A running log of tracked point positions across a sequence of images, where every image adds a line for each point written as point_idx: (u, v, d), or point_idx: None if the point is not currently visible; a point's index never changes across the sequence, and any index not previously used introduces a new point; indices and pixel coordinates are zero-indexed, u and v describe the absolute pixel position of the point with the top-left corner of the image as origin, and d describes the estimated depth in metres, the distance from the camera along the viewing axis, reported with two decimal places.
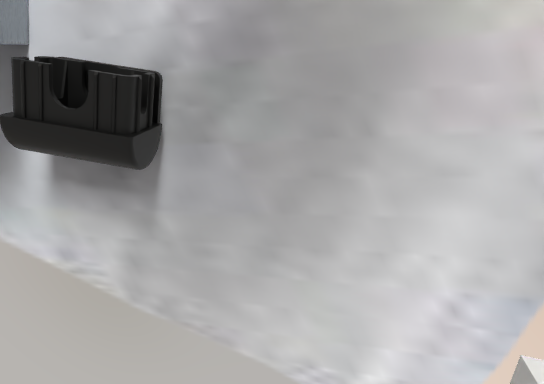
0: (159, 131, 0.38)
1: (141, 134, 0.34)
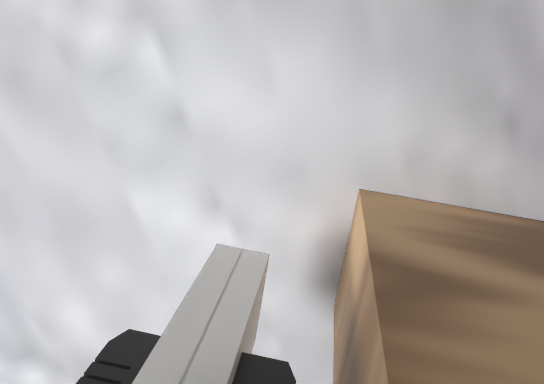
0: None
1: None
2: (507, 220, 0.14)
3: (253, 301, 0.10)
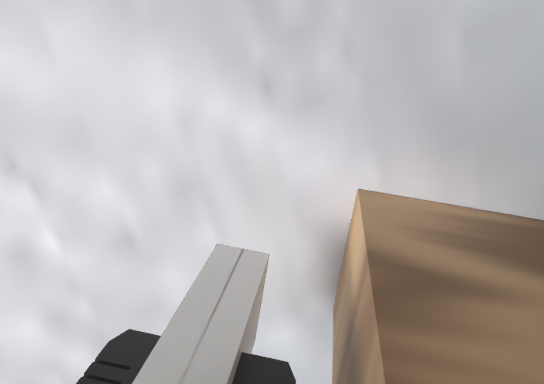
0: None
1: None
2: (505, 219, 0.14)
3: (253, 301, 0.10)
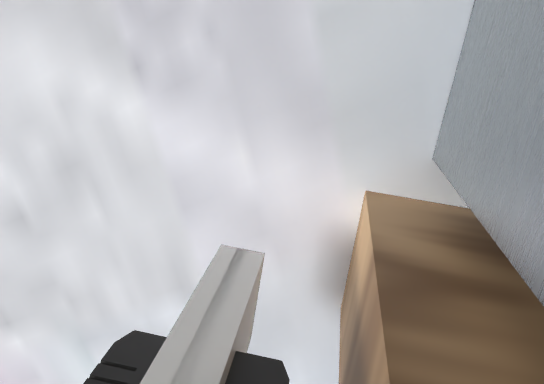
0: None
1: None
2: None
3: (247, 300, 0.10)
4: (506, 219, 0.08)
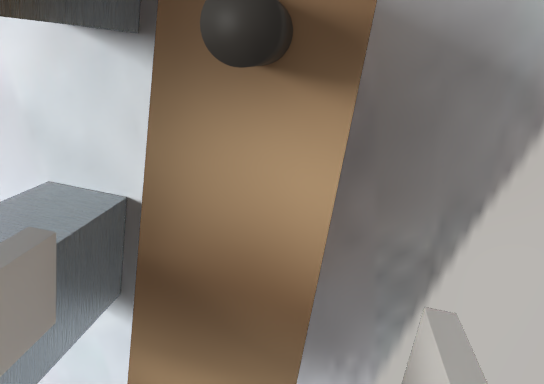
0: None
1: None
2: None
3: None
4: None
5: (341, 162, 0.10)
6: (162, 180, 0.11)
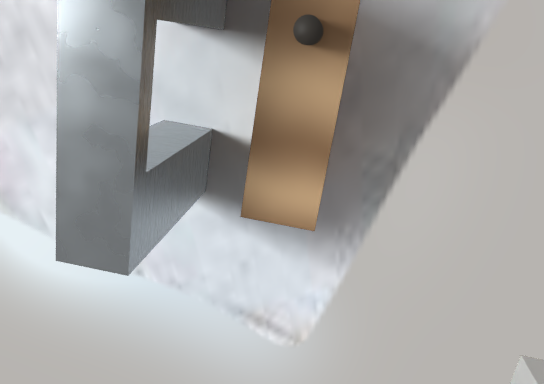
0: None
1: None
2: None
3: None
4: None
5: (342, 85, 0.25)
6: (266, 95, 0.26)
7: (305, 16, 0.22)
